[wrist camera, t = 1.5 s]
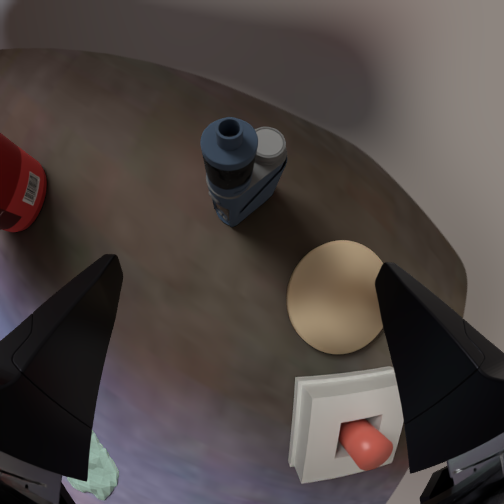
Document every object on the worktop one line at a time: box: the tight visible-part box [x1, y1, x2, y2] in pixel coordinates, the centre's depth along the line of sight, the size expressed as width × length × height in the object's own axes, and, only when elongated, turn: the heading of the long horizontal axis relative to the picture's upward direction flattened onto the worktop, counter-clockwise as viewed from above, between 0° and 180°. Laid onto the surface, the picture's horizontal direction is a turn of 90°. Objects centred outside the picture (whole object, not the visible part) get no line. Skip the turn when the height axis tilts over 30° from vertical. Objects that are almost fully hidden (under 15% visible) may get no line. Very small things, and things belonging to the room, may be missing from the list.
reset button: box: [338, 418, 393, 470], centre depth 15 cm, size 3×3×4 cm
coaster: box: [286, 240, 383, 354], centre depth 21 cm, size 9×9×1 cm
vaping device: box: [201, 117, 287, 227], centre depth 15 cm, size 3×5×12 cm, turn 131°
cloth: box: [67, 430, 119, 500], centre depth 16 cm, size 20×22×2 cm
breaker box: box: [288, 366, 404, 484], centre depth 18 cm, size 9×9×4 cm
